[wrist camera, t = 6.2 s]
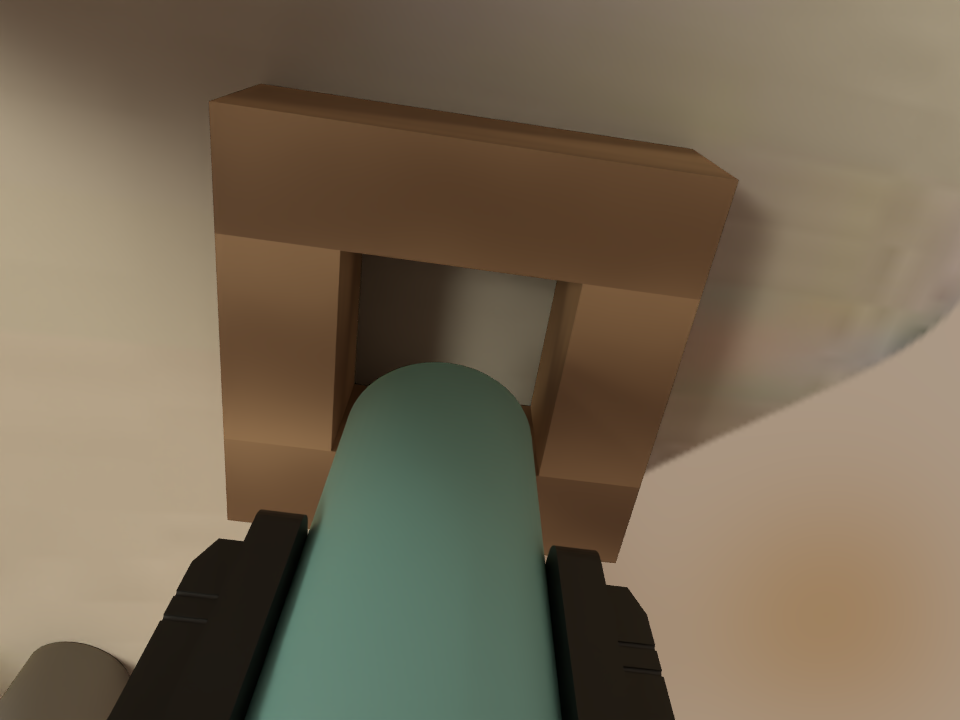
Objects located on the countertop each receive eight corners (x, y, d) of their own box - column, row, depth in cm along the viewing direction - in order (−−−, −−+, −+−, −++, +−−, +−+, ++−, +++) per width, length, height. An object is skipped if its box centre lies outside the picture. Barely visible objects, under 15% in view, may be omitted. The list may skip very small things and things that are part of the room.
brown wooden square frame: (260, 83, 16) (208, 101, 13) (692, 149, 17) (738, 180, 14) (264, 446, 22) (227, 519, 18) (597, 485, 22) (615, 563, 19)
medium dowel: (350, 349, 13) (144, 861, 5) (548, 376, 13) (638, 903, 5) (339, 505, 15) (174, 1062, 7) (513, 527, 15) (544, 1086, 7)
